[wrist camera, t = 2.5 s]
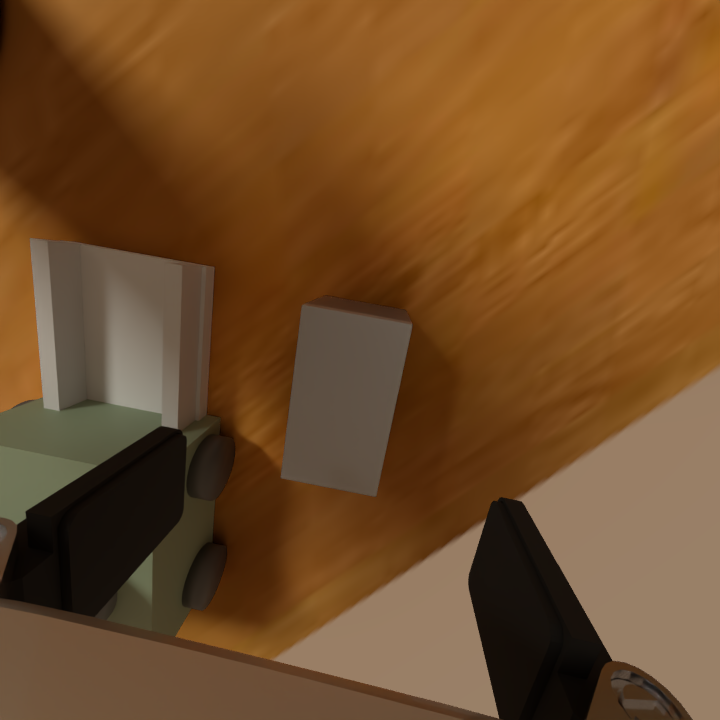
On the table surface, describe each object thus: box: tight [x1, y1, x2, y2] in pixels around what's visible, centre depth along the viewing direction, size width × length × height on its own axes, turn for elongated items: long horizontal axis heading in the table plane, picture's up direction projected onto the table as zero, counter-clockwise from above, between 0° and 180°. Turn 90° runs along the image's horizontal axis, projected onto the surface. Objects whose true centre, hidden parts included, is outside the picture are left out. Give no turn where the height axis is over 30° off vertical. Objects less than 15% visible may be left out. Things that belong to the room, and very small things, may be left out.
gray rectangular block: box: [281, 295, 413, 497], centre depth 19 cm, size 9×5×6 cm, turn 170°
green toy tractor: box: [0, 238, 235, 637], centre depth 19 cm, size 24×13×11 cm, turn 170°
